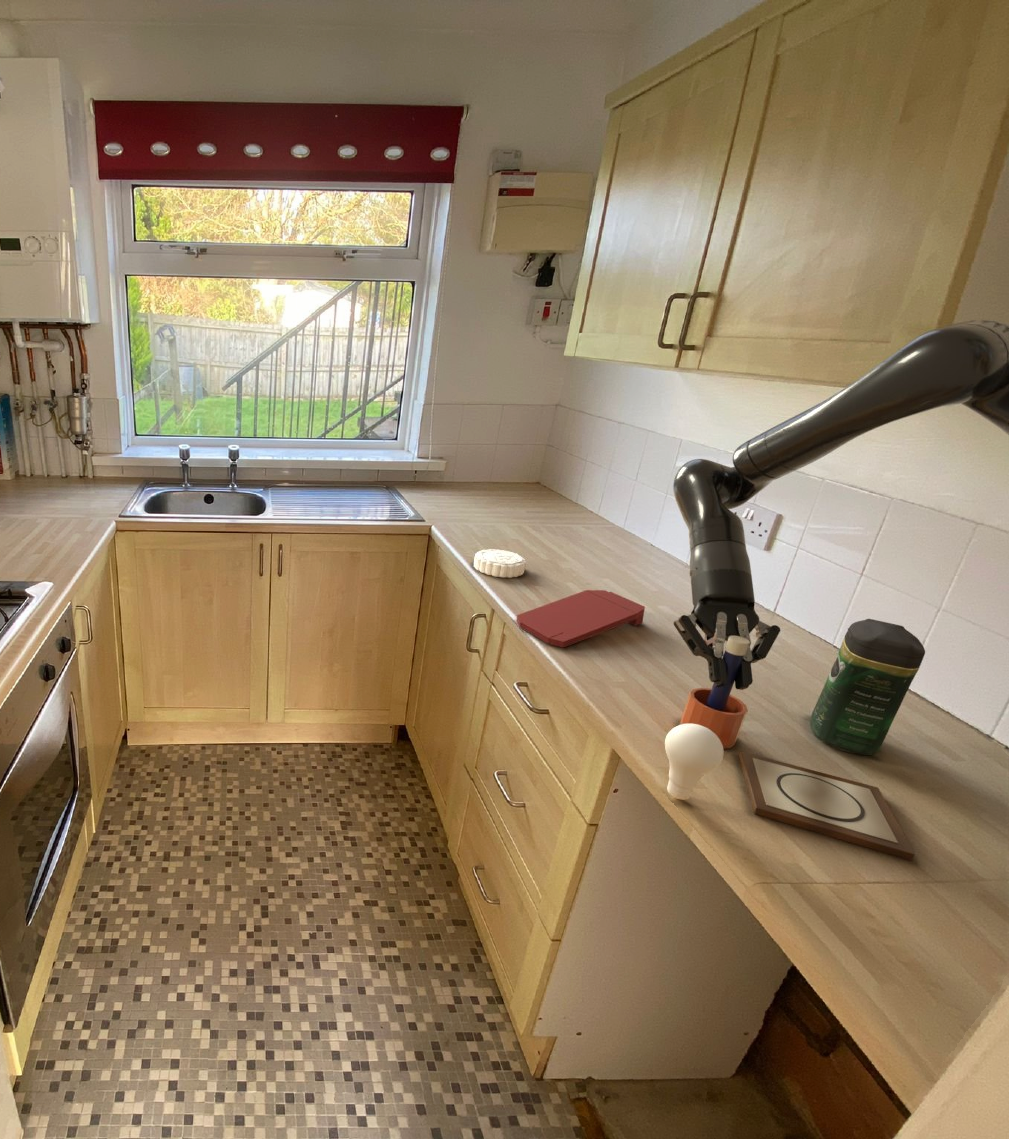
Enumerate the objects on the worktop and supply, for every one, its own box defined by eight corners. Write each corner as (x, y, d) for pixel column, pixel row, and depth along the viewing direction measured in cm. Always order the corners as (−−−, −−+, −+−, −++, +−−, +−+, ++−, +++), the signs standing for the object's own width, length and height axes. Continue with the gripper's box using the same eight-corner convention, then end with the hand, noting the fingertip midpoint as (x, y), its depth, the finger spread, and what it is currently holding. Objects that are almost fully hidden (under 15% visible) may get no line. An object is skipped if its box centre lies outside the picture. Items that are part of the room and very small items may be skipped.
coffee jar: (882, 764, 89) (937, 650, 82) (810, 743, 93) (857, 633, 86) (872, 731, 96) (922, 624, 89) (805, 713, 101) (848, 609, 94)
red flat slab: (556, 665, 120) (651, 627, 128) (558, 643, 118) (654, 606, 126) (510, 637, 131) (600, 603, 138) (511, 616, 129) (603, 583, 136)
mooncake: (529, 579, 151) (531, 566, 150) (477, 576, 153) (479, 562, 151) (517, 562, 162) (520, 549, 161) (469, 558, 164) (472, 546, 162)
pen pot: (731, 729, 96) (743, 696, 94) (738, 754, 91) (751, 720, 88) (677, 715, 100) (688, 683, 97) (681, 739, 94) (692, 705, 92)
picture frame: (875, 793, 84) (879, 785, 83) (911, 861, 73) (916, 852, 73) (738, 756, 90) (741, 749, 90) (753, 813, 80) (757, 806, 79)
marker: (722, 708, 94) (748, 637, 90) (724, 716, 92) (750, 644, 88) (703, 703, 95) (727, 633, 91) (705, 711, 93) (730, 640, 89)
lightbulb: (678, 779, 86) (701, 711, 82) (716, 811, 80) (742, 741, 76) (639, 783, 85) (660, 716, 80) (674, 816, 79) (699, 745, 75)
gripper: (681, 562, 94) (690, 673, 88) (787, 572, 91) (804, 688, 85) (659, 581, 101) (666, 685, 95) (757, 590, 98) (771, 699, 92)
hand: (731, 686), depth 90 cm, fingers closed on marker, 2 cm apart
